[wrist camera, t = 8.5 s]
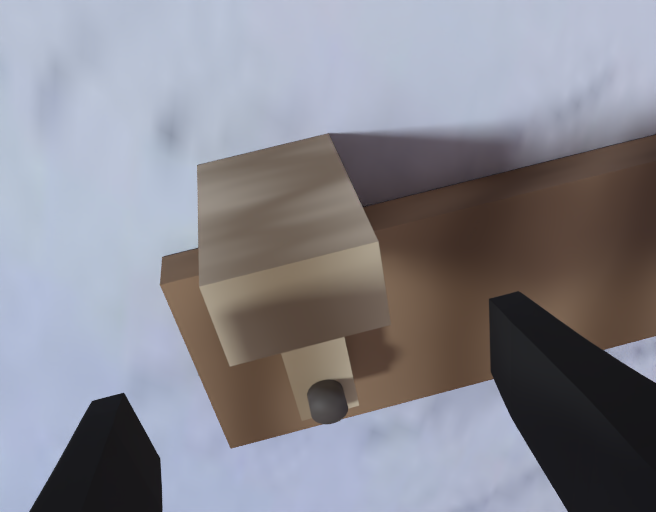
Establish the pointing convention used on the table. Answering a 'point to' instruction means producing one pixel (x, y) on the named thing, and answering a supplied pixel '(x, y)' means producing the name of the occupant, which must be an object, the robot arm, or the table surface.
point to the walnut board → (461, 284)
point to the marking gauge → (290, 267)
